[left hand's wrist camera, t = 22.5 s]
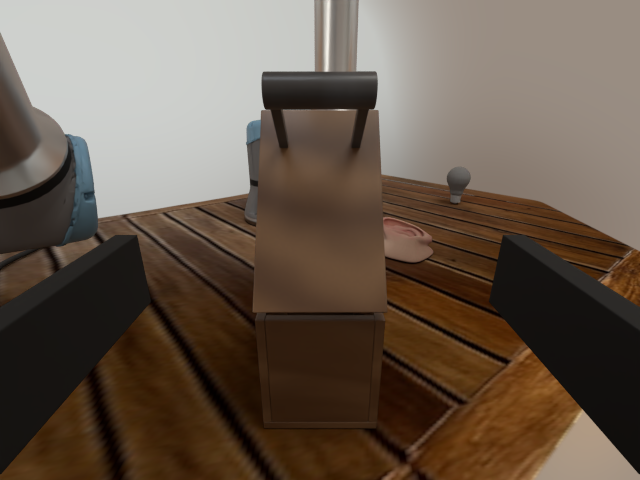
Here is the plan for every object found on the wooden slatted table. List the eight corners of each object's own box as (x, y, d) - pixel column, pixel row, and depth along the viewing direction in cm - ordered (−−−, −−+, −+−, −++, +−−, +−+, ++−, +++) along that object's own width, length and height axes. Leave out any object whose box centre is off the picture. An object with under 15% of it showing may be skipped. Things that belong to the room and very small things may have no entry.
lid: (263, 118, 28) (239, 34, 20) (376, 118, 28) (399, 34, 20) (255, 312, 25) (222, 310, 16) (384, 312, 25) (417, 309, 16)
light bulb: (446, 205, 92) (452, 168, 88) (441, 200, 98) (445, 165, 94) (469, 206, 92) (475, 168, 88) (462, 200, 97) (467, 165, 94)
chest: (282, 321, 43) (278, 242, 39) (357, 321, 43) (361, 242, 39) (263, 428, 28) (254, 320, 24) (376, 428, 28) (385, 320, 24)
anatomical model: (434, 244, 56) (365, 235, 59) (431, 265, 57) (364, 256, 61) (437, 220, 67) (379, 214, 71) (435, 239, 69) (378, 232, 72)
